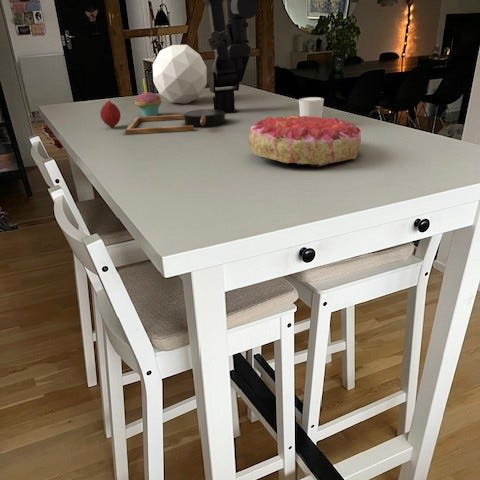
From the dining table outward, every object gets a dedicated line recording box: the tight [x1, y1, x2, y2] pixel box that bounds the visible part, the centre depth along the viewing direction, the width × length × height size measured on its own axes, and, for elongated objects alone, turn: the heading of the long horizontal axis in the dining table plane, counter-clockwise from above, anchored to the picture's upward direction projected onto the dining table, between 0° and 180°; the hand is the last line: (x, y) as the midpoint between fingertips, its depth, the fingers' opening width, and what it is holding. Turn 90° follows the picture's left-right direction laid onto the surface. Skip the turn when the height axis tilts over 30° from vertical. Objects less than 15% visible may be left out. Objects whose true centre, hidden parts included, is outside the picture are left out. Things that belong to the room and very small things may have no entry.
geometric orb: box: [152, 44, 208, 105], centre depth 186 cm, size 19×20×20 cm
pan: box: [183, 108, 226, 128], centre depth 151 cm, size 12×20×3 cm, turn 1°
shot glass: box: [298, 96, 325, 118], centre depth 142 cm, size 7×7×7 cm
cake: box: [247, 115, 362, 168], centre depth 115 cm, size 25×25×8 cm
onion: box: [99, 98, 121, 129], centre depth 154 cm, size 6×6×8 cm
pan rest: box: [125, 114, 195, 135], centre depth 155 cm, size 19×19×1 cm
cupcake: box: [134, 76, 162, 117], centre depth 167 cm, size 9×8×12 cm
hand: (239, 81), depth 149 cm, fingers closed
